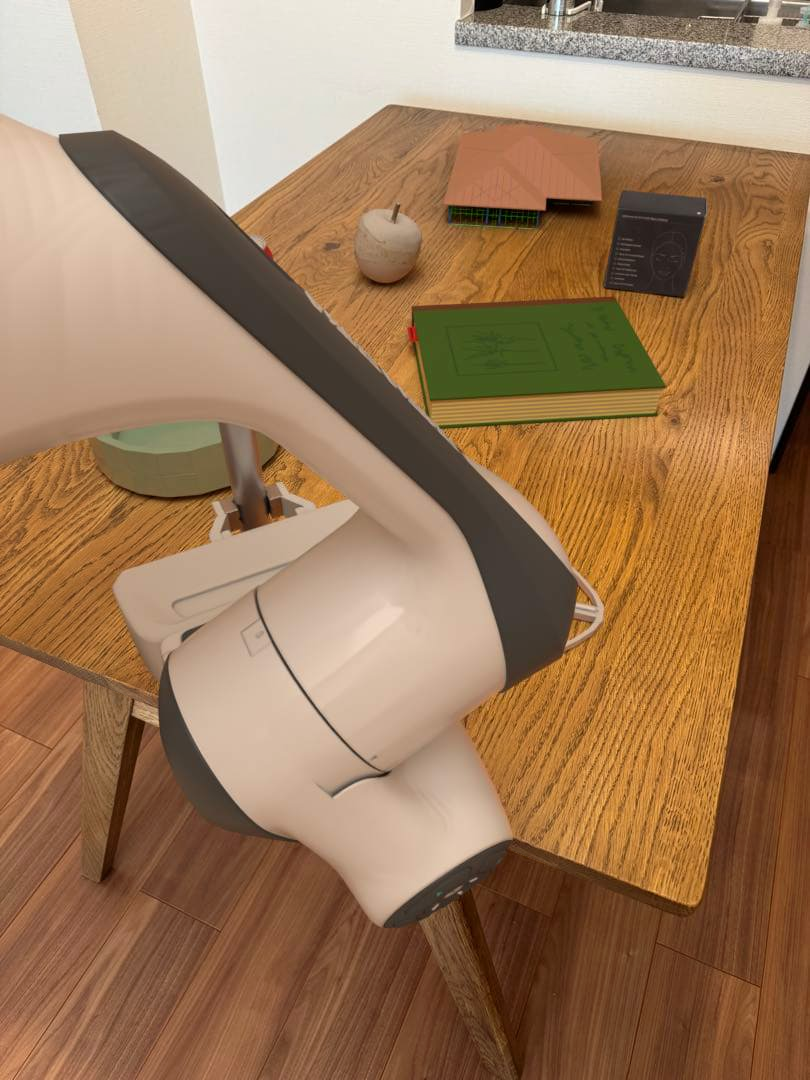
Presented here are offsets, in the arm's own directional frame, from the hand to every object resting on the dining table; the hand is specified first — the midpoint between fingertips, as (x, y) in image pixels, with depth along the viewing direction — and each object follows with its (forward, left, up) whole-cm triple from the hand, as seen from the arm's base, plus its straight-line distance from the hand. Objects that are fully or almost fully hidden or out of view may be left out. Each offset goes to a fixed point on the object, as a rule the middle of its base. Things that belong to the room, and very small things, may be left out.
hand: (247, 498), depth 54 cm
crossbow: (+15, -12, -13) cm, 23 cm away
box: (+70, +12, -13) cm, 72 cm away
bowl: (+8, +24, -13) cm, 28 cm away
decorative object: (+46, +36, -13) cm, 60 cm away
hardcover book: (+42, +9, -13) cm, 45 cm away
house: (+83, +44, -13) cm, 95 cm away
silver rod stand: (0, -1, -12) cm, 12 cm away
